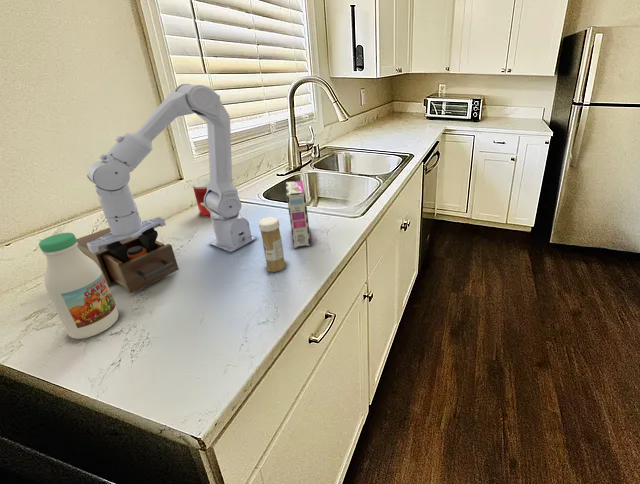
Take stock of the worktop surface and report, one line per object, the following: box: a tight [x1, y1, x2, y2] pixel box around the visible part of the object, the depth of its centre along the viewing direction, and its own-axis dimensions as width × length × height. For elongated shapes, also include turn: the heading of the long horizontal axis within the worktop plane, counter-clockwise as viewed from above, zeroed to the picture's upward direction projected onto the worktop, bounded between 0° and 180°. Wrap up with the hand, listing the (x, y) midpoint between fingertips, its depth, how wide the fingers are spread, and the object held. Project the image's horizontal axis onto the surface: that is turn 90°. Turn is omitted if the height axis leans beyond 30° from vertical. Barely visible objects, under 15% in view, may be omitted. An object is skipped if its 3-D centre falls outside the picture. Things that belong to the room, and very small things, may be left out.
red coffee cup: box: [192, 178, 211, 218], centre depth 112 cm, size 8×8×11 cm
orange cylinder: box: [127, 246, 147, 260], centre depth 78 cm, size 4×4×6 cm
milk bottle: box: [38, 232, 120, 340], centre depth 62 cm, size 8×8×20 cm
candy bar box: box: [285, 180, 312, 249], centre depth 94 cm, size 11×5×16 cm, turn 20°
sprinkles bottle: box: [258, 216, 286, 273], centre depth 81 cm, size 5×5×14 cm
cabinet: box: [76, 227, 140, 287], centre depth 83 cm, size 13×12×9 cm
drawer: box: [100, 240, 180, 295], centre depth 78 cm, size 16×10×7 cm, turn 62°
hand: (140, 263), depth 78 cm, fingers closed on orange cylinder, 4 cm apart
